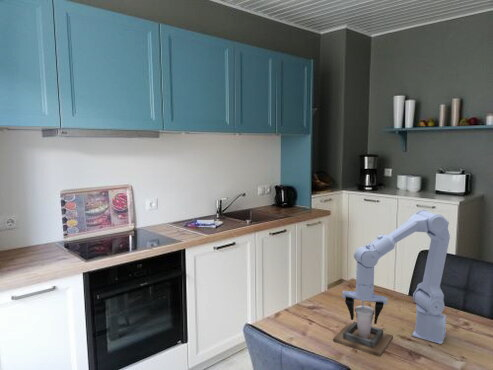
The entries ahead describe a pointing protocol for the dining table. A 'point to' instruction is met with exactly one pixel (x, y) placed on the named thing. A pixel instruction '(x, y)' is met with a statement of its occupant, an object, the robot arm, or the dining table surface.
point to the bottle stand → (364, 339)
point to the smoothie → (364, 319)
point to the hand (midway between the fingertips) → (363, 320)
